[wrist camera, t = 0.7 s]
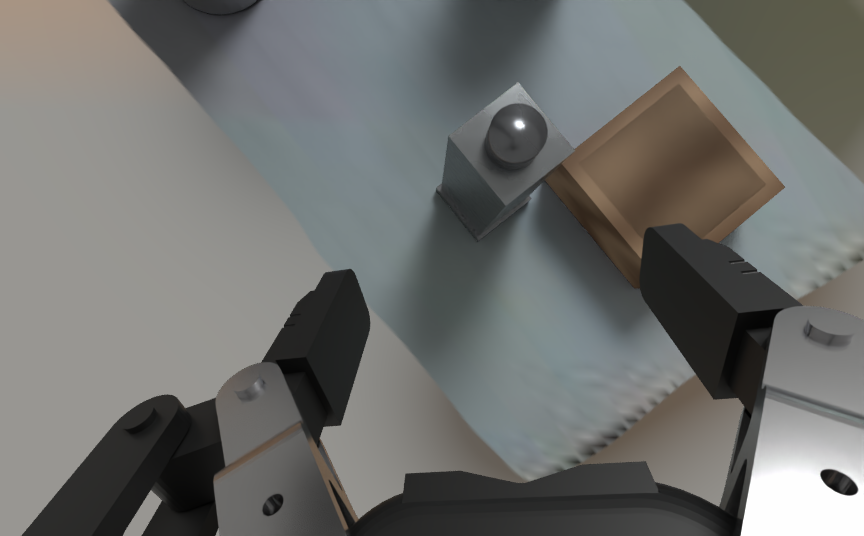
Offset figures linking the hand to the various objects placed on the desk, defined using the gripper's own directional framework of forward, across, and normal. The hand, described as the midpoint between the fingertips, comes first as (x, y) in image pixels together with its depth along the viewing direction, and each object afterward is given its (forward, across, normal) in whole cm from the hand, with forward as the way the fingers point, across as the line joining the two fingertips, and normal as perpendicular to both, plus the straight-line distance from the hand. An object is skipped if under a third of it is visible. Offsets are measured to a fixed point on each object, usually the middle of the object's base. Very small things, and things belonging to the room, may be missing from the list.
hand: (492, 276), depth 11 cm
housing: (+21, 0, +6) cm, 22 cm away
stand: (+23, -14, +8) cm, 28 cm away
